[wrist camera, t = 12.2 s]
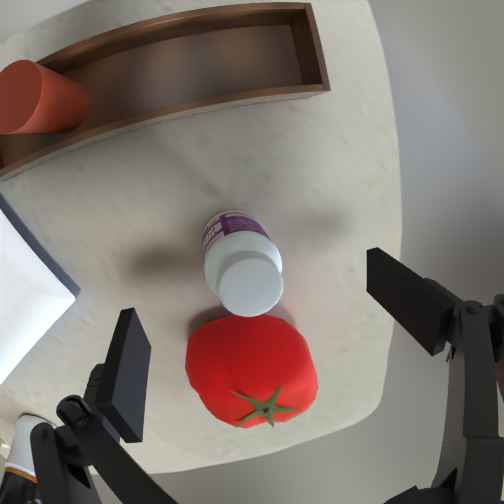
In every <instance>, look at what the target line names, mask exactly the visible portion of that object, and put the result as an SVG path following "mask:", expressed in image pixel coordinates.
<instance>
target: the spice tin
mask: <svg viewBox="0 0 504 504" xmlns="http://www.w3.org/2000/svg"><path fill="white" fill-rule="evenodd" d="M89 109H90V96H89V93H88V91H87V89H86V88H85V87H84V86H83V85H81V84H80V83H78V82H76V81H73V80H71V79H69V78H67V77H65V76H63V75H61V74H59V73H56V72H54V71H52V70H50V69H48V68H45V67H43V66H41V65H39V64H36V63H34V62H32V61H29V60H19V61H16V62H14V63H12V64H10V65H8V66H7V67H6V68H5V69H3V70H2V71H1V73H0V133H1V134H34V133H49V134H65V133H69V132H72V131H74V130H75V129H77V128H78V127H79V126H80V125H81V124H82V123H83V122H84V120H85V119H86V117H87V115H88V112H89Z"/></svg>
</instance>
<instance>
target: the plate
mask: <svg viewBox="0 0 504 504" xmlns="http://www.w3.org/2000/svg"><path fill="white" fill-rule="evenodd" d="M74 301H75V296H74V295H73V294H72V293H71V292H70V291H69V290H68V289H67V288H66V287H65V286H64V285H63V284H62V283H61V282H60V281H59V279H58V278H57V277H56V276H55V275H54V274H53V273H52V272H51V271H50V270H49V269H48V267H47V266H46V265H45V264H44V263H43V262H42V261H41V260H40V258H39V257H38V256H37V255H36V254H35V253H34V251H33V250H32V249H31V248H30V247H29V245H28V244H27V243H26V242H25V241H24V239H23V238H22V237H21V236H20V234H19V233H18V232H17V231H16V229H15V228H14V227H13V225H12V224H11V223H10V221H9V220H8V219H7V217H6V216H5V215H4V213H3V212H2V211H1V209H0V384H1V383H2V382H3V381H4V379H5V378H6V377H7V376H8V374H9V373H10V372H11V371H12V370H13V368H14V367H15V366H16V365H17V364H18V362H19V361H20V360H21V359H22V358H23V357H24V355H25V354H26V353H27V352H28V351H29V350H30V349H31V347H32V346H33V345H34V344H35V343H36V342H37V341H38V340H39V338H40V337H41V336H42V335H43V334H44V333H45V332H46V331H47V330H48V329H49V327H50V326H51V325H52V324H53V323H54V322H55V321H56V320H57V319H58V318H59V317H60V316H61V315H62V314H63V313H64V312H65V311H66V309H67V308H68V307H69V306H70V305H71V304H72V303H73V302H74Z"/></svg>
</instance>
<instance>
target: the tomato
mask: <svg viewBox="0 0 504 504" xmlns="http://www.w3.org/2000/svg"><path fill="white" fill-rule="evenodd" d="M185 369H186V372H187V375H188V378H189V381H190V384H191V386H192V387H193V388H194V389H195V390H196V391H197V393H198V394H199V396H200V399H201V400H202V402H203V403H204V405H205V406H206V408H207V409H208V410H209V411H210V412H211V413H212V414H213V415H214V416H215V417H216V418H217V419H219V420H221V421H224V422H226V423H228V424H230V425H233V426H236V427H242V428H248V427H252V426H255V425H258V424H261V423H264V422H269V423H270V424H271V425H272V426H273V427H274V422H286V421H288V420H290V419H292V418H293V417H295V416H297V415H299V414H301V413H303V412H304V411H306V410H307V409H308V408H309V406H310V405H311V404H312V403H313V401H314V400H315V397H316V394H317V390H318V381H317V373H316V371H315V368H314V365H313V362H312V359H311V355H310V352H309V348H308V345H307V343H306V341H305V339H304V338H303V336H302V335H301V334H300V333H299V332H298V331H297V330H296V329H295V328H293V327H292V326H291V325H290V324H288V323H287V322H286V321H284V320H283V319H280V318H277V317H274V316H270V315H266V314H260V315H257V316H252V317H244V316H239V315H232V316H228V317H225V318H221V319H217V320H214V321H210V322H208V323H206V324H204V325H202V326H201V327H200V328H199V329H198V330H197V331H196V332H195V333H194V334H193V335H192V336H191V337H190V338H189V339H188V346H187V353H186V363H185ZM236 427H235V428H236Z"/></svg>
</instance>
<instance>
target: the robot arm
mask: <svg viewBox="0 0 504 504" xmlns="http://www.w3.org/2000/svg"><path fill="white" fill-rule="evenodd" d="M367 292H368V293H369V294H370V295H371V296H372V297H373V298H374V299H375V300H376V301H377V302H378V303H379V304H380V305H381V306H382V307H383V308H384V309H385V310H386V311H387V312H388V313H389V314H390V315H391V316H392V317H394V318H395V319H396V320H397V321H398V322H399V323H400V324H401V325H402V326H403V327H404V328H405V329H406V330H407V331H408V332H409V333H410V334H411V335H412V336H413V337H414V338H415V339H416V341H417V342H418V343H419V344H420V345H421V346H422V347H423V348H425V350H426V351H427V352H428V353H429V354H430V355H431V356H434V355H436V354H438V353H439V352H441V351H443V350H444V347H445V343H446V340H447V341H448V342H449V343H450V344H451V346H450V350H449V353H448V356H447V360H446V362H448V360H449V384H448V399H447V412H446V420H445V428H444V436H443V442H442V449H441V455H440V460H439V465H438V470H437V473H436V475H435V478H434V480H433V482H432V485H431V488H424V489H419V490H418V488H417V487H416V486H414V487H412V488H410V489H408V490H406V491H404V492H403V493H401V494H399V495H397V496H395V497H393V498H391V499H389V500H388V501H386V502H385V503H384V504H504V501H502V500H501V495H502V486H503V476H504V438H503V437H499V435H498V400H497V384H498V387H499V389H500V393H501V396H502V398H503V402H504V294H498V295H496V296H495V299H494V303H493V304H492V305H488V306H483V305H482V304H481V303H479V302H477V301H472V300H471V301H470V300H469V301H465V302H464V301H462V300H461V299H459V298H458V297H457V296H455V295H454V294H453V293H451V292H450V291H449V290H447V289H446V288H444V287H443V286H441V285H440V284H439V283H437V282H436V281H434V280H431V279H428V278H424V279H423V278H422V277H420V276H419V275H417V274H416V273H415V272H413V271H412V270H410V269H409V268H407V267H406V266H405V265H403V264H402V263H400V262H399V261H397V260H396V259H394V258H393V257H391V256H390V255H389V254H387V253H386V252H384V251H383V250H381V249H380V248H378V247H376V248H373V249H369V250H367ZM150 353H151V345H150V343H149V341H148V339H147V336H146V334H145V332H144V330H143V327H142V325H141V323H140V320H139V318H138V316H137V313H136V311H135V308H134V307H133V308H129V309H124V310H121V312H120V315H119V318H118V321H117V325H116V328H115V331H114V334H113V337H112V340H111V343H110V347H109V350H108V353H107V357H106V360H105V363H103V364H97V365H96V366H95V367H94V369H93V370H92V371H91V374H90V377H89V382H88V383H87V388H86V390H85V394H84V397H83V399H82V398H81V397H80V396H78V395H70V396H67V397H65V398H64V399H63V400H61V401H60V403H59V404H58V406H57V409H56V413H57V416H58V417H59V418H60V419H61V420H62V422H63V423H64V424H65V425H63V426H60V427H57V428H53V426H52V425H51V424H49V423H48V422H41V423H39V424H37V425H35V426H34V428H33V429H32V430H31V433H30V445H31V452H32V459H33V465H34V471H35V476H36V481H37V486H38V490H39V495H40V499H41V503H42V504H102V502H101V500H100V498H99V495H98V493H97V490H96V488H95V485H94V483H93V480H92V477H91V475H90V472H89V469H88V466H91V465H93V466H94V468H95V469H96V471H97V472H98V473H99V475H100V476H101V477H102V479H103V480H104V481H105V482H106V484H107V485H108V486H109V487H110V489H111V490H112V491H113V492H114V494H115V495H116V496H117V497H118V498H119V500H120V501H121V502H122V503H123V504H180V503H179V502H177V501H176V500H175V499H174V498H173V497H172V496H170V495H169V494H168V493H167V492H166V491H165V490H164V489H163V488H162V487H161V486H160V485H158V483H156V482H155V481H154V480H153V479H152V478H151V477H150V476H149V475H148V474H147V473H146V472H145V471H144V470H143V469H142V468H141V467H140V466H139V465H138V464H137V463H136V462H135V460H134V459H133V458H132V457H131V456H130V455H129V454H128V453H127V452H126V451H125V450H124V448H123V447H122V446H121V445H120V444H119V442H120V437H121V438H122V439H123V440H124V441H125V442H126V443H137V442H142V440H143V424H144V411H145V399H146V389H147V379H148V370H149V362H150ZM496 381H497V384H496Z"/></svg>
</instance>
